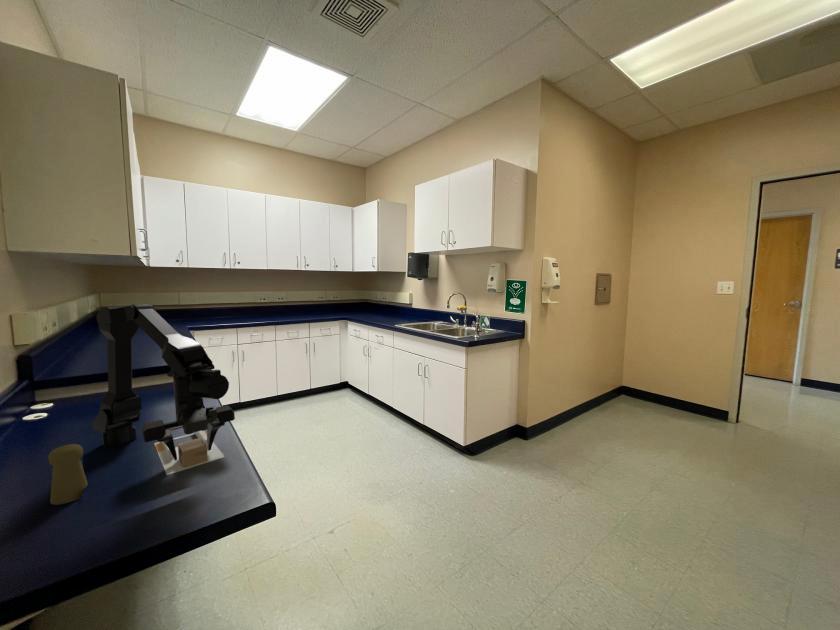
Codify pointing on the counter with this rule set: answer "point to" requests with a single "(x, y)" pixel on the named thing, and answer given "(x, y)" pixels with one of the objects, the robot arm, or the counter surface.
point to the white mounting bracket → (168, 459)
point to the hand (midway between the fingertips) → (192, 454)
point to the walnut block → (192, 452)
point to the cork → (67, 474)
